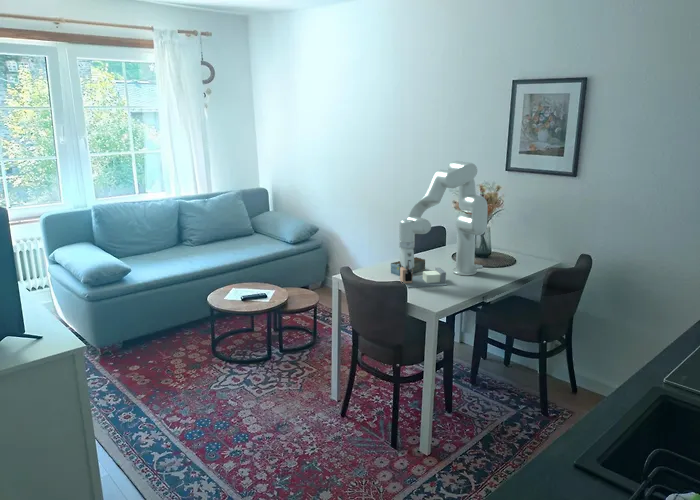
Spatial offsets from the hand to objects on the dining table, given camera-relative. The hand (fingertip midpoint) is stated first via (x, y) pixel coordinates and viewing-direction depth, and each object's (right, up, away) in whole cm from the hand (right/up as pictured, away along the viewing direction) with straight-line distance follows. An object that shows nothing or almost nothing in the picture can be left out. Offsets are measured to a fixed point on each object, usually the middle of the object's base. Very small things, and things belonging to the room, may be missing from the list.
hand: (406, 278), depth 268 cm
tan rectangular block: (0, -2, +1) cm, 3 cm away
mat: (+9, -2, +2) cm, 9 cm away
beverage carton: (+3, +2, +20) cm, 21 cm away
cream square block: (+14, -2, +3) cm, 15 cm away
